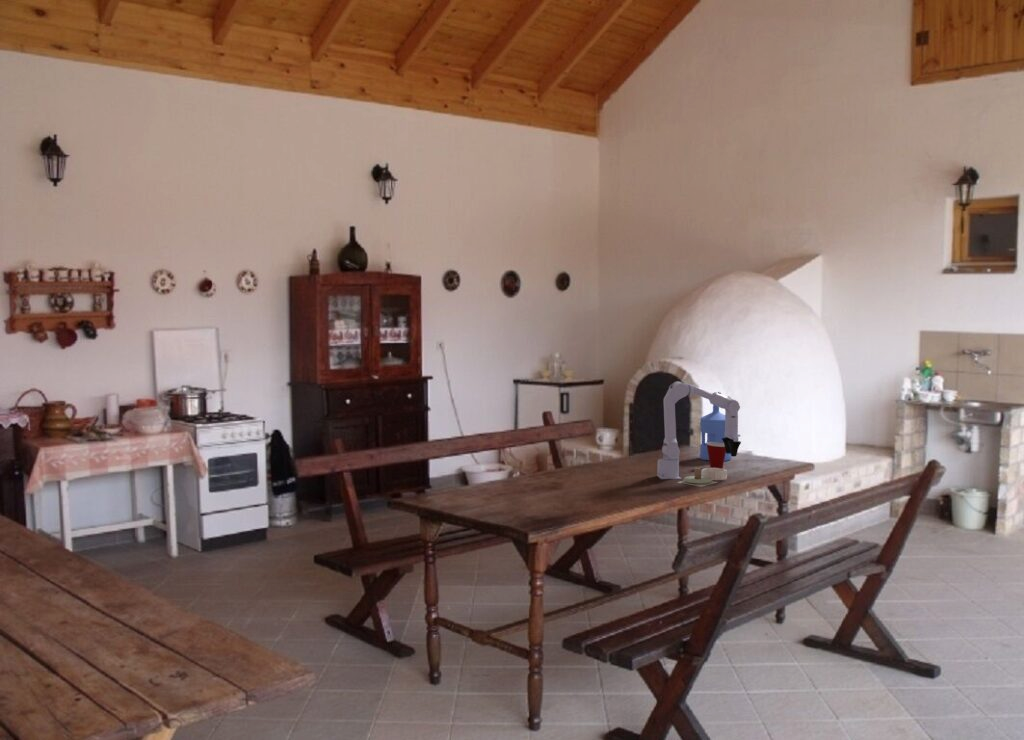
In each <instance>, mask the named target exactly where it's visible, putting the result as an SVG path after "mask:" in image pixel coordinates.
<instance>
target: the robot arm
mask: <svg viewBox="0 0 1024 740" xmlns="http://www.w3.org/2000/svg"><path fill="white" fill-rule="evenodd" d="M688 395H689V396H692V395H695V396H699V397H701V398H704V399H706V400H709V403H710V404H711V405H712V406H713V405H715V406H718V407H719V409H720V408H721V410H722V409H723V410H725V412H724V415H725V438H722V440H723V442H724V445H725V450H726V453H727V454H729V453H731V457H736V456H737V455H738V451H739V447H740V445H741V444H742V441H740V440H739V437H741V434H738V433H739V431H738V430H739V411H740V409H741V406H740V403H739V401H738V400H736V399H733V398H731V396H729V395H728V396H726V395H724V394H722V392H721V391H718V392H717V391H716V392H709V391H706V390H705V389H703V388H701V387H698V386H696V385H693V384H691V383H690V384H689V383H685V382H682V381H679V380H678V381H674V382H673V383H671V384H670V385H669V386H668V390H667V391H666V394H665V395H664V397H663V421H664V423H663V424H664V438H663V445H662V447H661V452H662V454H663V456H662V458H658V459H657V472H656V474H657V477H658V478H659V479H660V480H675V479H676V480H677V479H678V480H679V479H682V477H681V476H679V475H680V470H679V469H680V466H679V465H680V460H679V459H680V454H681V451H680V448H679V443H678V441H677V422H676V403H678V401H679V400H681V399H683V398H685V397H687V396H688Z"/></svg>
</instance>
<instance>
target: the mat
mask: <svg viewBox="0 0 1024 740" xmlns="http://www.w3.org/2000/svg"><path fill="white" fill-rule="evenodd" d="M676 483H677V484H685V485H689V486H690V485H691V486H695V487H701V488H702V487H705V486H709V485H713V484H717V483H719V481H715V480H712V482H709V483H705V484H693V483H689V482H685V481H684V480H682V481H677V482H676Z"/></svg>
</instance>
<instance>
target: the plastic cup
mask: <svg viewBox="0 0 1024 740" xmlns="http://www.w3.org/2000/svg"><path fill="white" fill-rule="evenodd" d="M705 443H706V444H707V449H708V455H709V461H708V462H709V467H710V468H722V469H724V462H725V461H724V459H725V454H726V450H725V445H724V443H718V442H707V441H705Z"/></svg>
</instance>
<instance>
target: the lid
mask: <svg viewBox="0 0 1024 740" xmlns="http://www.w3.org/2000/svg"><path fill="white" fill-rule="evenodd" d="M693 469H694V471H693V472H694V475H690V476H685V477H683V481H685V482H689V483H693V484H705V483H709V482H712V481H713V480H712V478H710V477H705V476H701V470H702V468H700V467H695V468H693Z"/></svg>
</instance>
